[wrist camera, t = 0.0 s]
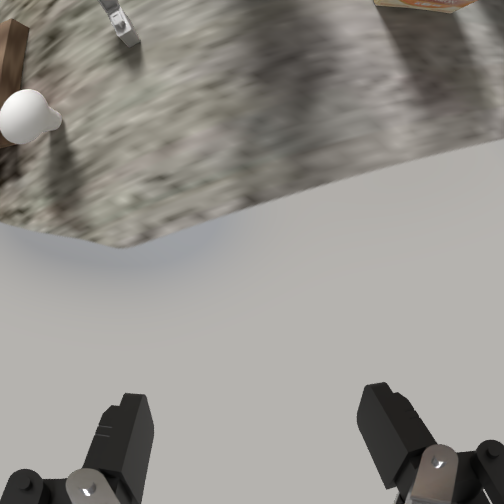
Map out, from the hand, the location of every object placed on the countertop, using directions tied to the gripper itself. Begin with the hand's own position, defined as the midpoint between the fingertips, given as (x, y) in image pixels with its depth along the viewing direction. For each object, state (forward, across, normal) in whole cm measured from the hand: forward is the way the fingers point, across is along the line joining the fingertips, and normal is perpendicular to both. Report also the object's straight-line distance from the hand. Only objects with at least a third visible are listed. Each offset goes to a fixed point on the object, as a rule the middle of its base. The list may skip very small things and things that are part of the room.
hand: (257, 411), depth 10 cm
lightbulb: (+30, +23, -15) cm, 40 cm away
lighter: (+30, +14, -27) cm, 42 cm away
